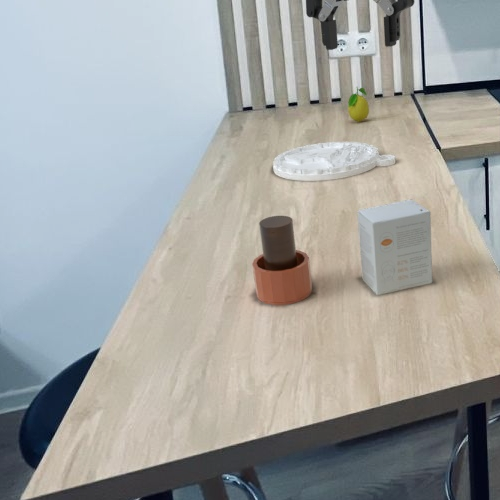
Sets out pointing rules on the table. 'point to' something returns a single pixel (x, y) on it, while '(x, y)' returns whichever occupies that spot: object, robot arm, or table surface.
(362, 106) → the lemon
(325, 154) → the medallion
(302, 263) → the socket cup
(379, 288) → the small box
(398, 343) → the table surface
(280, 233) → the peg
